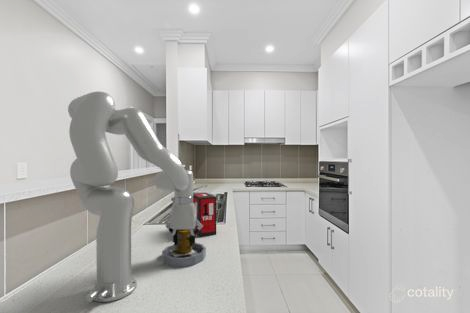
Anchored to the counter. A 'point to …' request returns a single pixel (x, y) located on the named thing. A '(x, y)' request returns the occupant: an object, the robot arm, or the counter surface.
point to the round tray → (184, 256)
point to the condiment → (183, 243)
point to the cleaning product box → (205, 213)
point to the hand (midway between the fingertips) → (184, 244)
